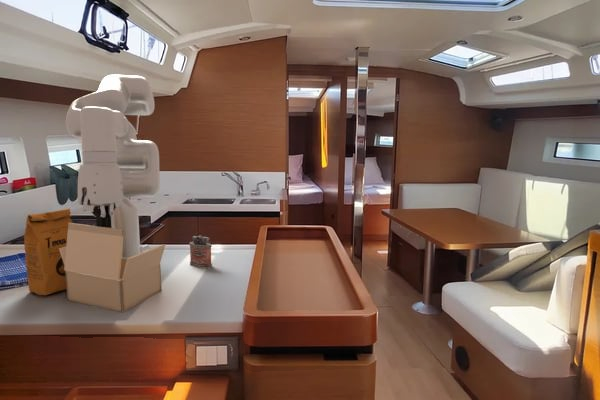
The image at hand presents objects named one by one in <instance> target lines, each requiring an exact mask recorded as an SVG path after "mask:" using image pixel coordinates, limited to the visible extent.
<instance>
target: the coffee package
mask: <svg viewBox="0 0 600 400" xmlns="http://www.w3.org/2000/svg"><path fill="white" fill-rule="evenodd" d="M70 216H71V209H70V208H66V209H61V210H60V209H59V210H55V211H54V210H53V211H47V212H40V213H33V214H32V213H31V214H28V215H27V216H26V220H25V226H26V227H25V231H24V235H23V236H24V238H23V239H24V240H23V242H24V245H23V246H24V253H25V266H26V267H25V268H26V276H27V281H28V282H27V284H28V292H30V293H35V294H36V295H39V296H48V295H51V294H55V293H58V292H61V291H67V286H66V275H65V270H64V266H65V265H64V262H63V260H62V257H61V254H60V251H59V248H62V247H65V246H66V245H67V234H68V223H73V221H72V218H70Z"/></svg>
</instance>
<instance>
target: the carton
mask: <svg viewBox="0 0 600 400" xmlns="http://www.w3.org/2000/svg"><path fill="white" fill-rule="evenodd" d="M165 247H166V244H160V245H158V246H156V247H154V248H153V247H152V248H149V249H148V250H146V251H143V252H142V253H140V254H137V255H135V256H132V257H129V258H124V257H122V259H121V270H120V280H115V279H110V278H104V277H99V276H93V275H87V274H82V273H76V272H71V271H65V275H66V286H67V289H66V294H67V296H66V297H67V301H69V302H72V303H73V302H74V303H78V304H83V305H86V306H87V305H88V306H92V307H97V308H101V309H106V310H110V311H115V312H121V313H124V312H126V311H128V310H130V309H131V308H133V307H135V306H137V305H138V304H140V303H142V302H144V301H146V300H148V299H149V298H151V297H153V296H155V295H157V294H159V293H161V292H162V289H163V288H162V269H161V267H162V266H161V261H162V259H163V255H164V250H165ZM59 251H60V254H61V257H62V260H63V262H64V265H65V255H66V246H65V247H62V248H59Z"/></svg>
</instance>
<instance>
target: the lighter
mask: <svg viewBox="0 0 600 400" xmlns="http://www.w3.org/2000/svg"><path fill="white" fill-rule="evenodd" d="M188 246H189V254H190V256H189V257H190V259H189V260H190V261H189V266H192V265H193V267H196V266H198V267H197V268H202V267H210V268H212V267H213V264H212V247H213V246H212V244H211V243H210V237H207V236H202V235H198V236H195V235H193V236H192V241H190V242H189V245H188ZM211 266H212V267H211Z"/></svg>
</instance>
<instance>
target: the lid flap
mask: <svg viewBox="0 0 600 400" xmlns="http://www.w3.org/2000/svg"><path fill="white" fill-rule="evenodd" d="M123 237H124V230H123V229H115V228H107V227H99V226H97V225H90V224H82V223H74V222H72V223H68V234H67V245H66V255H65V266H64V270H65V271H71V272H76V273H82V274H87V275H93V276H99V277H104V278H110V279H115V280H120V270H121V259H122V248H123Z"/></svg>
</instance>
